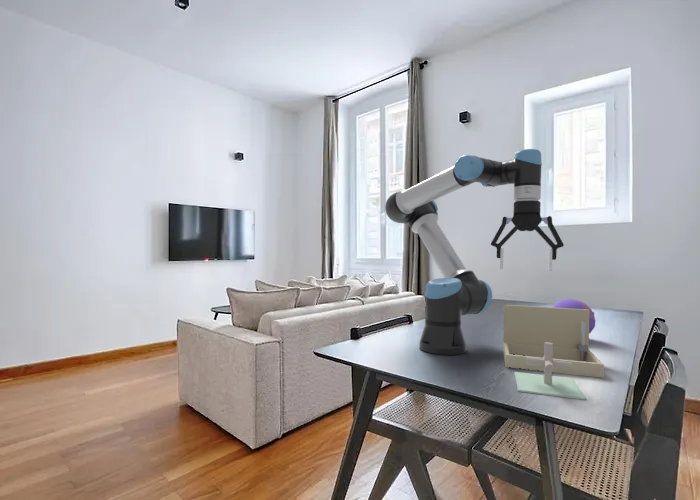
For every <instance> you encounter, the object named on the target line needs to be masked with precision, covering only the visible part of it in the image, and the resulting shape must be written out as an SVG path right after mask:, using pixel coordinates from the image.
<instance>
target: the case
mask: <svg viewBox="0 0 700 500" xmlns="http://www.w3.org/2000/svg"><path fill="white" fill-rule="evenodd" d="M552 307H553V306H552ZM552 307H550V306H548V307H547V306H533V305H532V306H531V305H530V306H529V305H514V304H513V305H512V304H504V305H503V341H502V342H503V346H502V347H503V351H502V352H503V353H502V354H503V359H504V365H505V366H504V367H505V368H509V367H511V369H519V368H521V369H520V370H528V369H529V370H530V371H537V370H539V372H544V366H536V365H528V364H526V357H530V358H539V359H543V356H544V343H545V342H550V343H553V356H552V360H556V361H565V362H571V363H572V370H569V369H561V368H554V371H553V372H552V373H556V374H557V373H558V374H567V375H574V376H586V377H594V378H602V379H603V378H604V375H605V373H604V368H605V367H604V366H605V364H604V363H603V362H602V361H601V360H600V359H599V358H598V357H597V356H596V355H595V354H594V353H593V352H592V351H591V350H590V349H589V347H590V345H589V344H590V334H589V310H587V309H570V308H552ZM513 354H515V355H513ZM523 355H525V356H523Z"/></svg>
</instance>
